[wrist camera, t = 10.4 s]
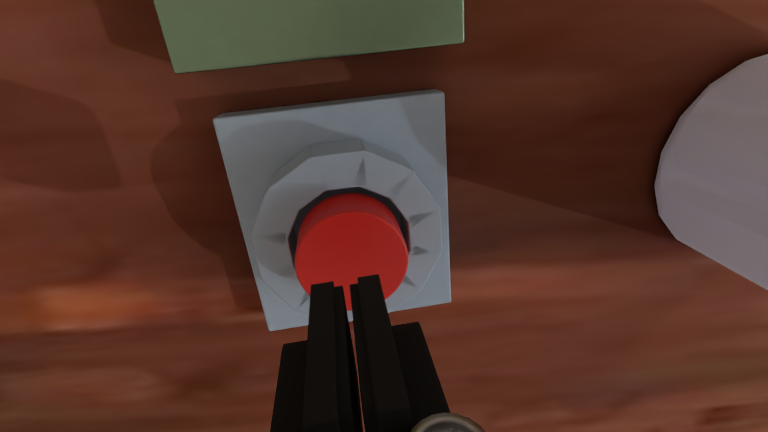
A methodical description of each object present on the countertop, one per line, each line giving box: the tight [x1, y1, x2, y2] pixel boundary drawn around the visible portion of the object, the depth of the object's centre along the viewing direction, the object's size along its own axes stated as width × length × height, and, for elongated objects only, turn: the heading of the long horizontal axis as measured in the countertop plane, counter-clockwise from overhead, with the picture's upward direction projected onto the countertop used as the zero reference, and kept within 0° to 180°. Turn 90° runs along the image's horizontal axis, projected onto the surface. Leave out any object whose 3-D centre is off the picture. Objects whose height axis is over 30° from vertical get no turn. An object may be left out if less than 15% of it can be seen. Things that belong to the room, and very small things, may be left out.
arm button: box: [295, 193, 408, 311], centre depth 13 cm, size 4×4×2 cm
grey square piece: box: [213, 89, 451, 331], centre depth 15 cm, size 9×8×3 cm
